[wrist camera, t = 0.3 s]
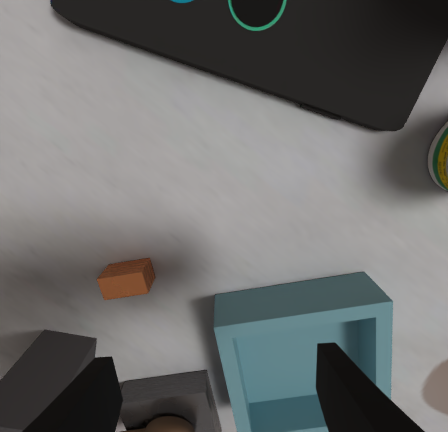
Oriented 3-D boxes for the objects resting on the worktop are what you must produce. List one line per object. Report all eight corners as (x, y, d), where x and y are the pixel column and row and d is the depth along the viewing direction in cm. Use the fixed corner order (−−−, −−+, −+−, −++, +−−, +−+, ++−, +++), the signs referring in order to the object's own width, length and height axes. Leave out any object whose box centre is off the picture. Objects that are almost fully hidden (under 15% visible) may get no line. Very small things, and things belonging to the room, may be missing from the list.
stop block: (96, 338, 22) (40, 432, 15) (92, 376, 23) (39, 478, 16) (44, 329, 21) (-36, 421, 15) (44, 368, 23) (-31, 469, 16)
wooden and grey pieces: (221, 428, 25) (221, 454, 23) (146, 438, 25) (140, 464, 23) (177, 253, 19) (172, 267, 17) (82, 268, 20) (66, 284, 18)
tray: (366, 384, 23) (390, 428, 20) (238, 401, 24) (240, 446, 20) (364, 271, 20) (392, 301, 16) (215, 294, 20) (213, 327, 17)
